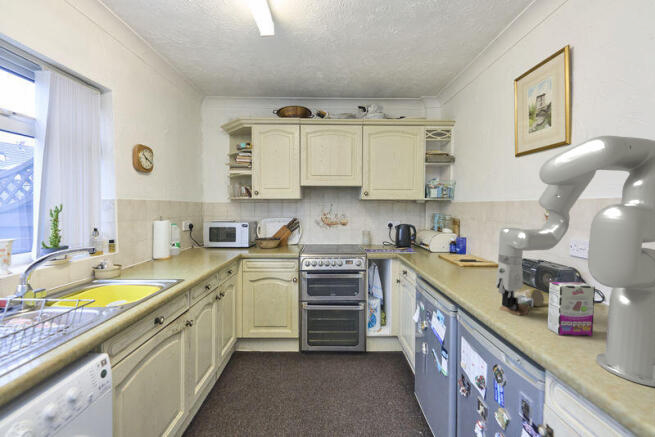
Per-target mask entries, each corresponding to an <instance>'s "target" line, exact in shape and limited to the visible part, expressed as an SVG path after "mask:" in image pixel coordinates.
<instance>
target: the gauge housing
mask: <svg viewBox="0 0 655 437" xmlns="http://www.w3.org/2000/svg"><path fill="white" fill-rule="evenodd" d="M499 310H500V311H504V312H506V313H510V314H513V315H516V316H519V317H520V316H524V315H526V314H528V313H529V306H528V304H527V303H522V304H519V309H518V310H513V309H510V308H507V307H505V306H502V305H500V306H499Z"/></svg>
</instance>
